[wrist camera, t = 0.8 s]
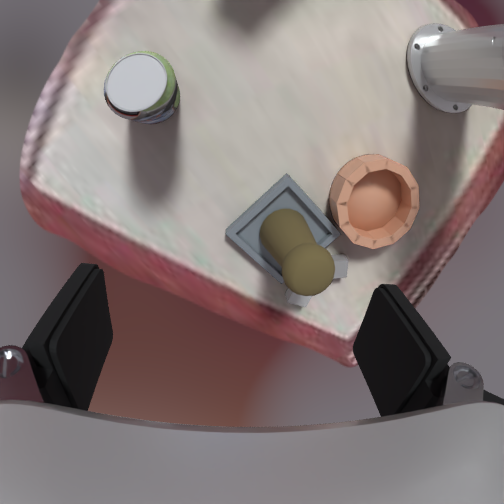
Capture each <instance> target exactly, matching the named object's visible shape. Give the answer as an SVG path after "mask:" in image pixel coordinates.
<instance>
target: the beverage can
mask: <svg viewBox="0 0 504 504" xmlns="http://www.w3.org/2000/svg"><path fill="white" fill-rule="evenodd" d="M104 96H105V100H106V102H107V104H108V106H109V107H110V109H111V110H112V111H113V112H114V113H115V114H117V115H118V116H120V117H122V118H125V119H129V120H133V121H137V122H141V123H145V124H156V123H160V122H162V121H164V120H166V119H168V118H169V117H170V116H171V115H172V114H173V113H174V112H175V110H176V109H177V107H178V104H179V101H180V91H179V87H178V84H177V80H176V77H175V74H174V70H173V68H172V66H171V65H170V63H169V62H168V61H167V60H166V59H165V58H164V57H162V56H161V55H159V54H157V53H154V52H149V51H139V52H134V53H131V54H128V55H126V56H124V57H122V58H121V59H120V60H118V61H117V62H116V63H115V64H114V65H113V66H112V68H111V69H110V71H109V72H108V74H107V76H106V79H105V83H104Z"/></svg>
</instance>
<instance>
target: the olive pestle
mask: <svg viewBox="0 0 504 504" xmlns="http://www.w3.org/2000/svg"><path fill="white" fill-rule="evenodd" d="M260 239H261V243H262V244H263V246H264V247H265V248H266V249H267V251H268V252H269V253H270V254H271V255H272V257H273V258H274V259H275V260H276V261H277V262H278V264H279V265H280V266H281V267H282V276H283V280H284V282H285V284H286V285H287V287H288V288H289V289H290V290H291V291H292V292H294V293H296V294H297V295H302V296H314V295H316V294H319V293H321V292H322V291H324V290H325V289H326V288H327V287H328V286H329V285H330V284H331V282H332V280H333V278H334V273H335V264H334V260H333V258H332V256H331V254H330V253H329V252H328V251H327V250H326V249H325V248H324V247H322V246H320V245H318V244H317V243H316V241H315V239H314V236H313V234H312V232H311V230H310V228H309V226H308V224H307V222H306V220H305V219H304V217H303V215H301V214H300V213H299V212H298V211H296V210H292V209H279V210H276V211H274V212H272V213H271V214H269V215H268V216H267V217H266V218H265V220H264V221H263V223H262V225H261V228H260Z"/></svg>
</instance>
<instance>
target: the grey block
mask: <svg viewBox="0 0 504 504" xmlns="http://www.w3.org/2000/svg"><path fill="white" fill-rule="evenodd" d="M331 256H332V258H333V260H334V264H335V273H334V278H333V279H335V278H345V277H347V269H348V259H347V257H346V256H345V254H336V255H331Z"/></svg>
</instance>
